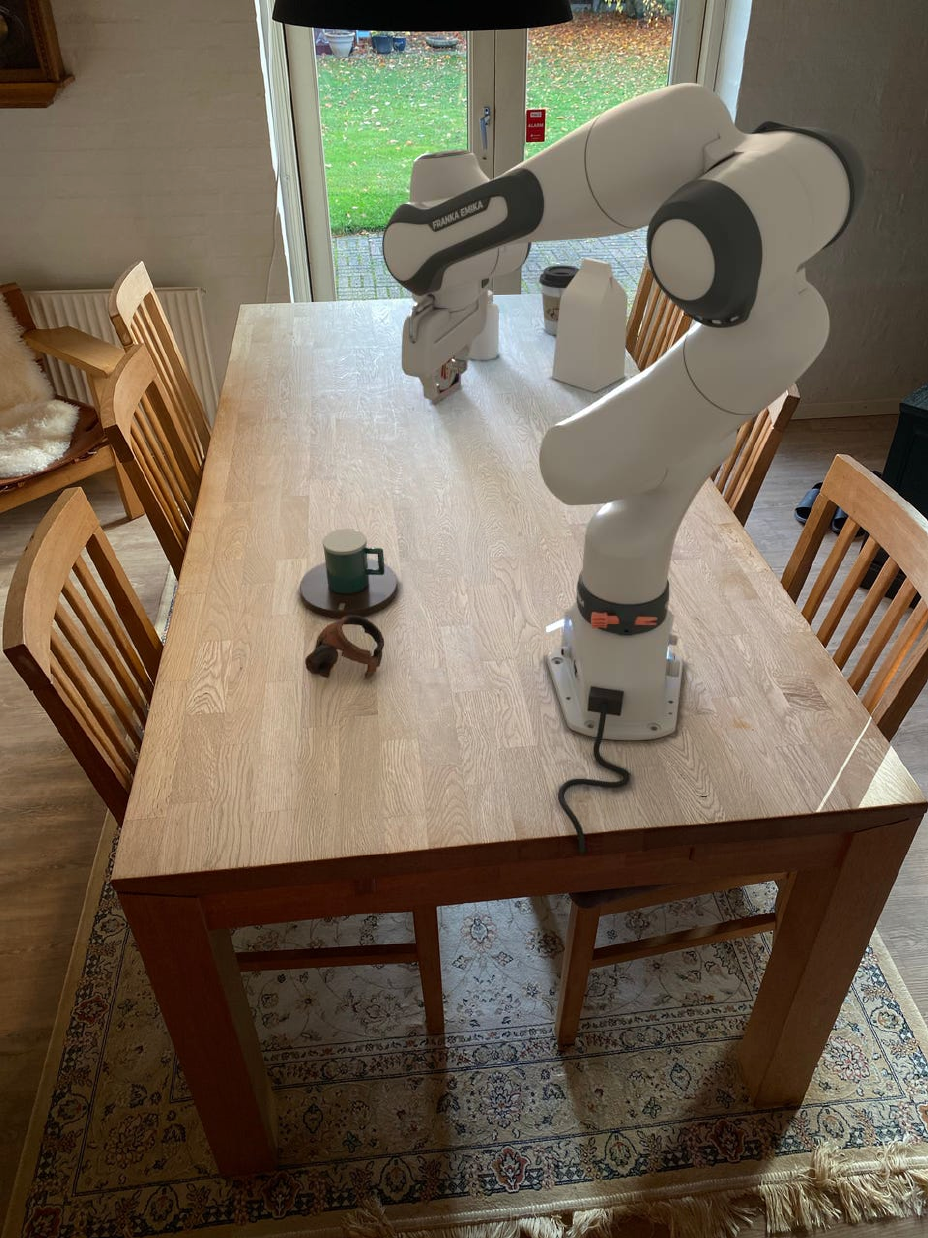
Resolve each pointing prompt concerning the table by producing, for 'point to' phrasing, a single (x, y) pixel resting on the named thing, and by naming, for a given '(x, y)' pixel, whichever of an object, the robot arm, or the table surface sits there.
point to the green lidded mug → (349, 560)
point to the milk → (591, 329)
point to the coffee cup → (554, 292)
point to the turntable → (340, 604)
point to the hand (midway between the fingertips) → (446, 384)
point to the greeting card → (447, 380)
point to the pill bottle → (487, 334)
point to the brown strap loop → (344, 647)
